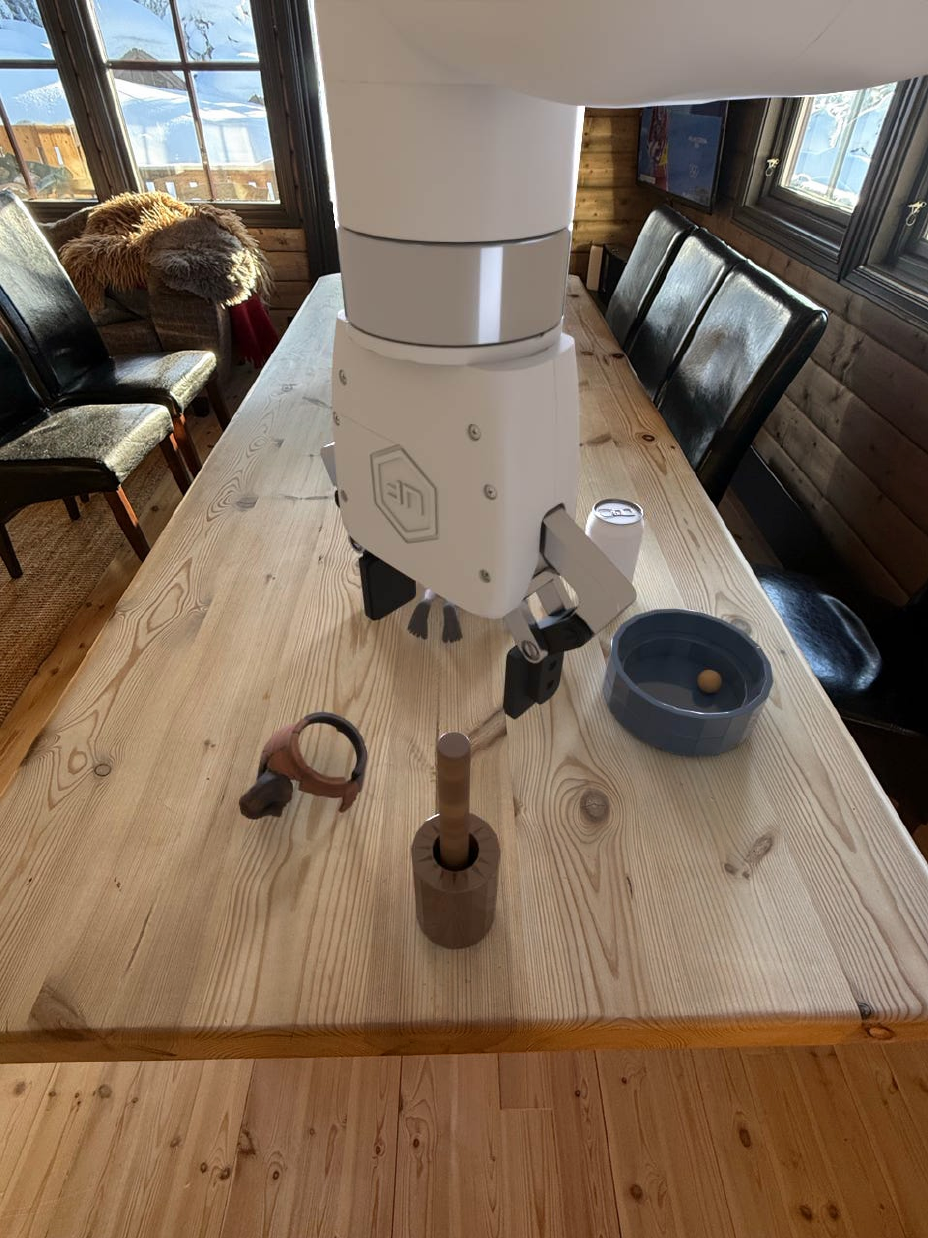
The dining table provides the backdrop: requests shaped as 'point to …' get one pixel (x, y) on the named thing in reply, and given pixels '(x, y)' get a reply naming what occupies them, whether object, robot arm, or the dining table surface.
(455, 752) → the stick
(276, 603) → the dining table surface
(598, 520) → the can
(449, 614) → the yeti figurine
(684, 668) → the bowl
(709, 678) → the cork ball
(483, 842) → the holder
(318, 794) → the broken pottery
